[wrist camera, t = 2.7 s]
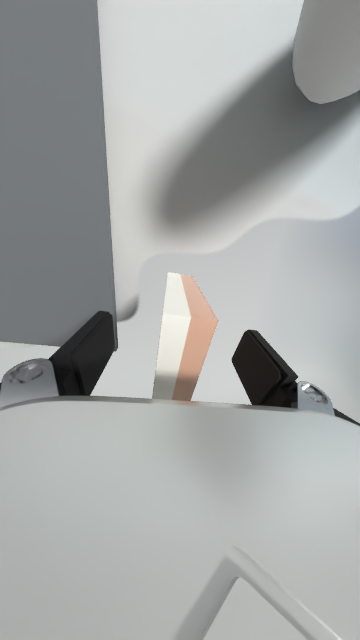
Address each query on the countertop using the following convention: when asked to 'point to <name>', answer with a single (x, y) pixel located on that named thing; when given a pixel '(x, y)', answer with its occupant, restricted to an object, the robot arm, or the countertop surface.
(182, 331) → the tile
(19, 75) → the mat
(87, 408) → the robot arm
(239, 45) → the countertop surface
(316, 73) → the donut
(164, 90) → the countertop surface
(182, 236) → the countertop surface
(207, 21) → the countertop surface
